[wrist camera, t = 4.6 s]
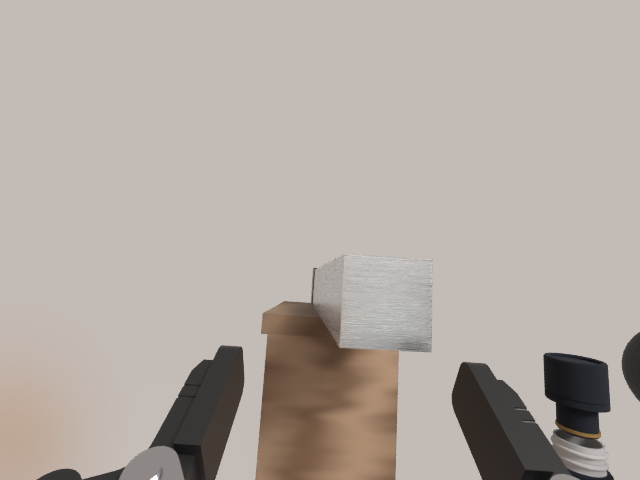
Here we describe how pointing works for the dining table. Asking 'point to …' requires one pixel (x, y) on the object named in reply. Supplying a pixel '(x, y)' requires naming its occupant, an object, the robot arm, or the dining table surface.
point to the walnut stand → (324, 403)
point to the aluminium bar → (375, 302)
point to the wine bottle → (578, 412)
